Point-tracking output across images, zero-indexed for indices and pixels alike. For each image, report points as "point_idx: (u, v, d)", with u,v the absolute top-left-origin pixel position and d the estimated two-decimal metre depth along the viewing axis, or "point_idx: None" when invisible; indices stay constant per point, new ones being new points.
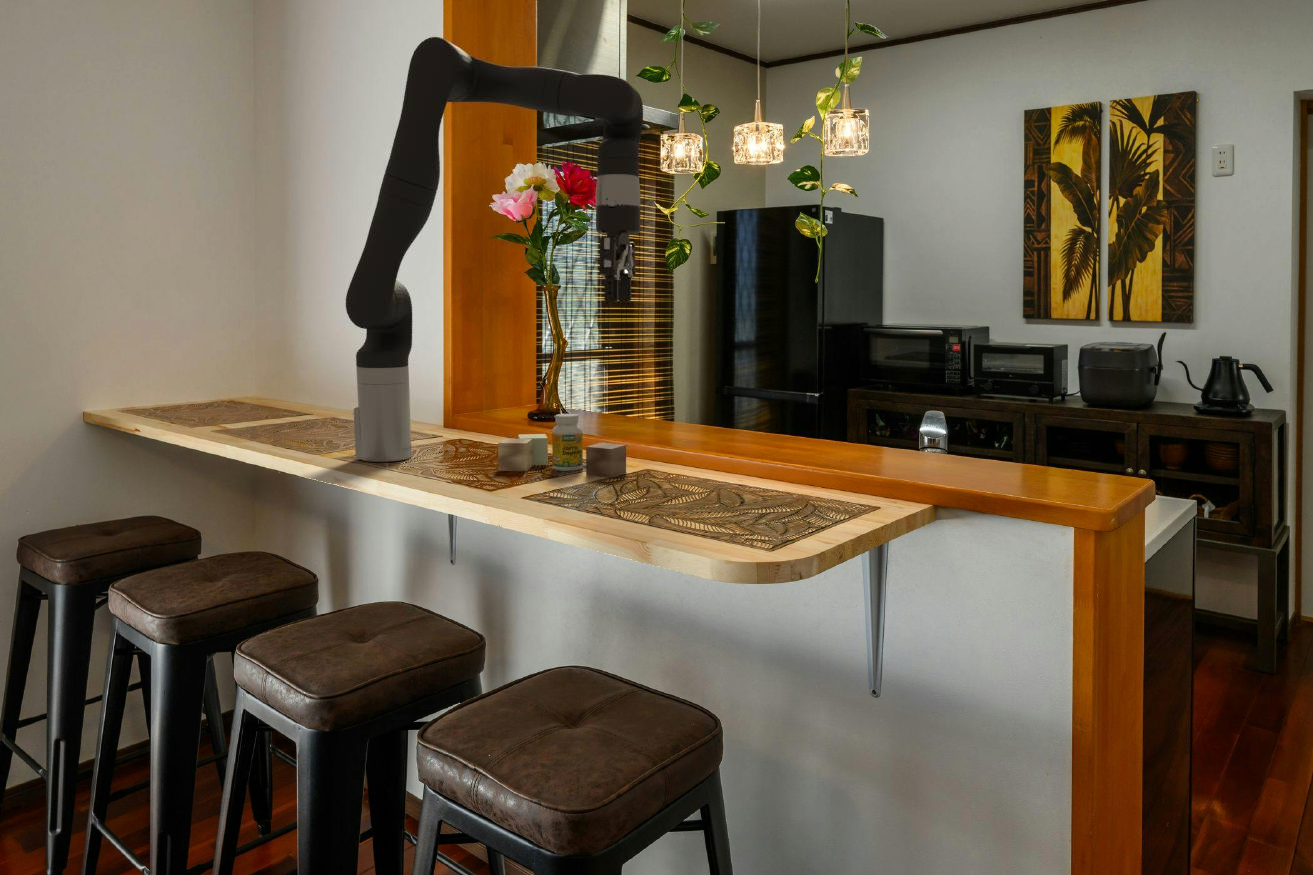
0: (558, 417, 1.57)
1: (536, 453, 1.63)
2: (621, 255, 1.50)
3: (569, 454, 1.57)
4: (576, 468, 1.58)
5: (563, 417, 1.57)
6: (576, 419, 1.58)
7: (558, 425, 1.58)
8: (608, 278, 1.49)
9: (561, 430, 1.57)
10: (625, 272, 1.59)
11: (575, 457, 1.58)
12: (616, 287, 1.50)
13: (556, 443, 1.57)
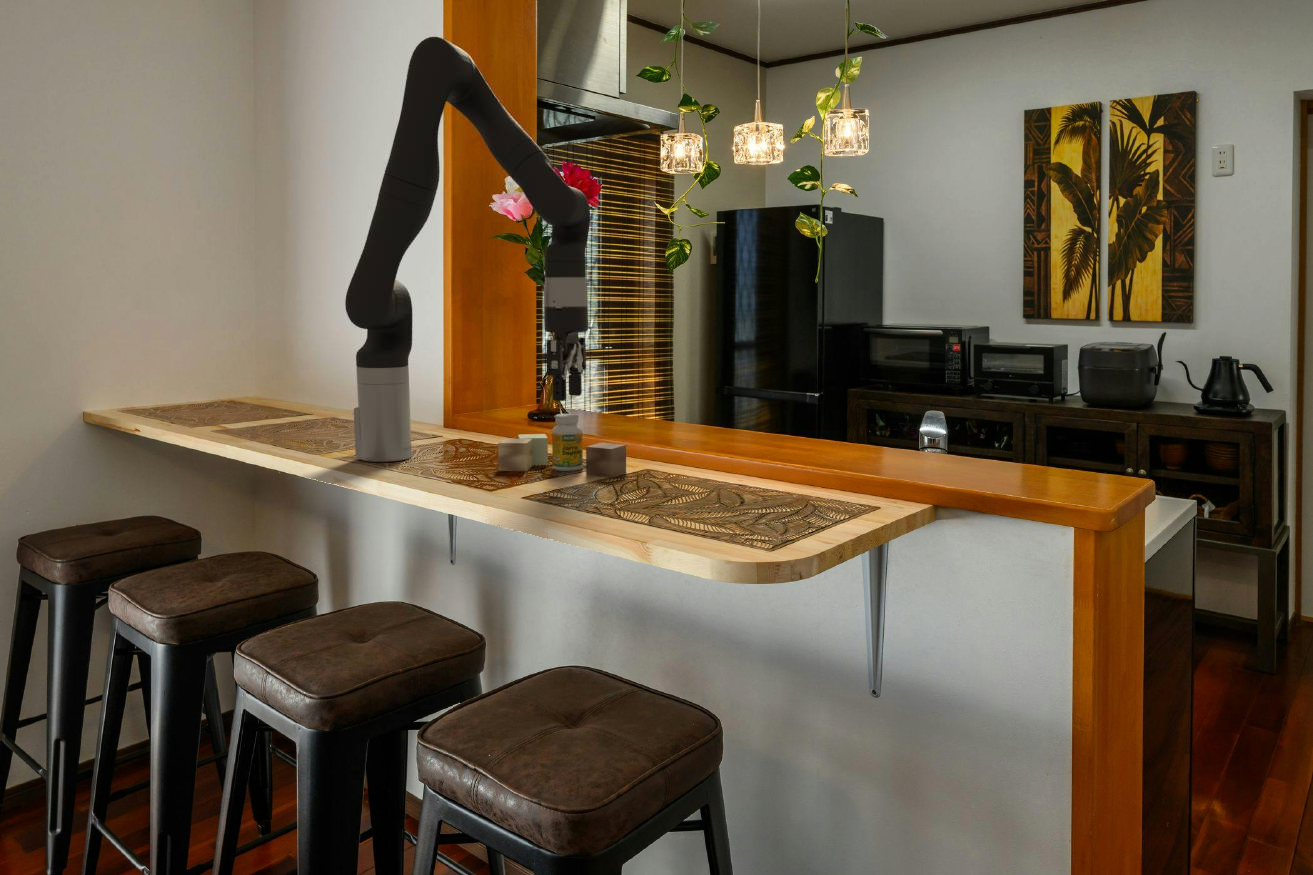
0: (558, 417, 1.57)
1: (536, 453, 1.63)
2: (569, 355, 1.54)
3: (569, 454, 1.57)
4: (576, 468, 1.58)
5: (563, 417, 1.57)
6: (576, 419, 1.58)
7: (558, 425, 1.58)
8: (556, 378, 1.52)
9: (561, 430, 1.57)
10: (575, 366, 1.62)
11: (575, 457, 1.58)
12: (564, 387, 1.53)
13: (556, 443, 1.57)
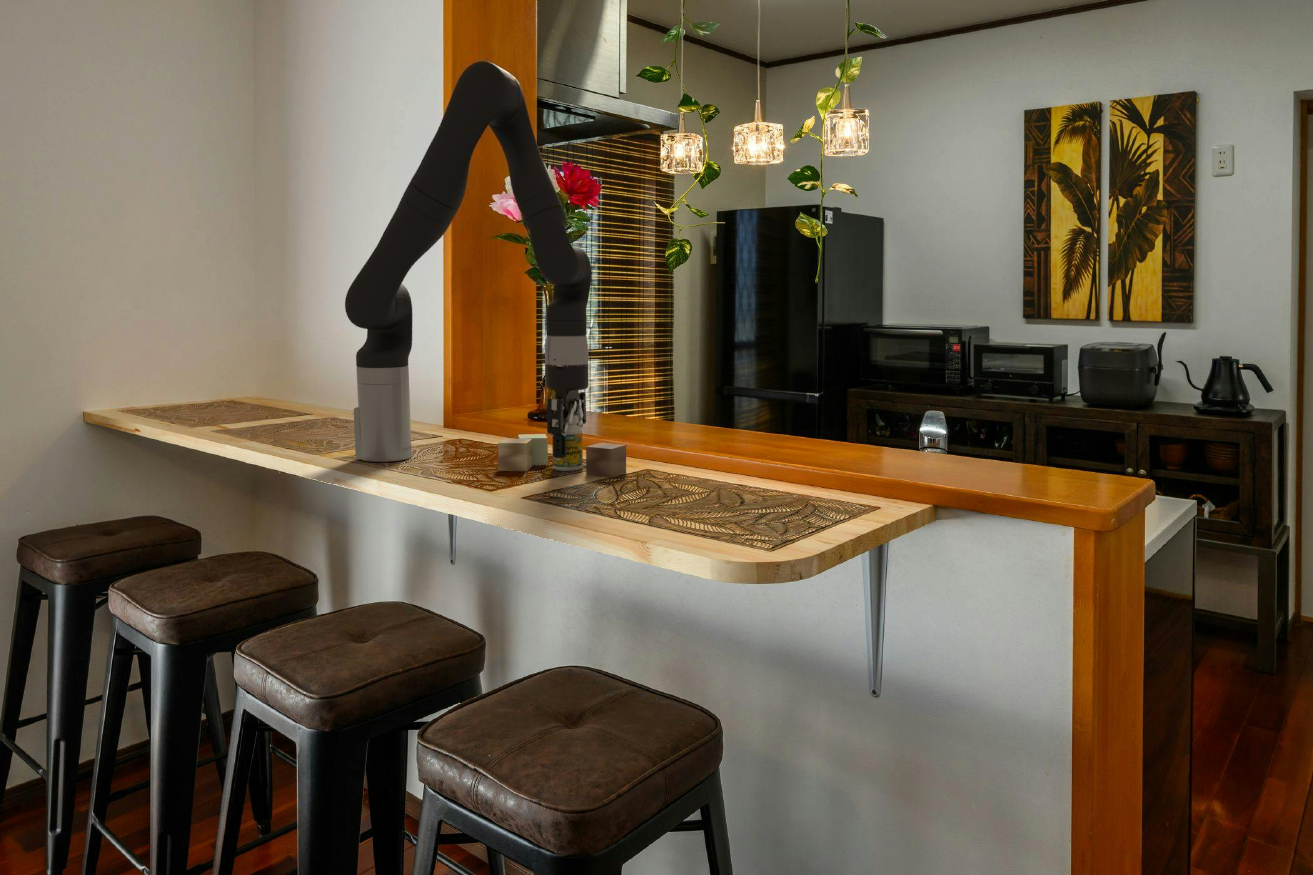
0: None
1: (536, 453, 1.63)
2: (569, 412, 1.55)
3: (569, 454, 1.57)
4: (576, 468, 1.58)
5: None
6: (576, 419, 1.58)
7: None
8: (556, 436, 1.54)
9: None
10: None
11: (575, 457, 1.58)
12: (564, 444, 1.55)
13: None
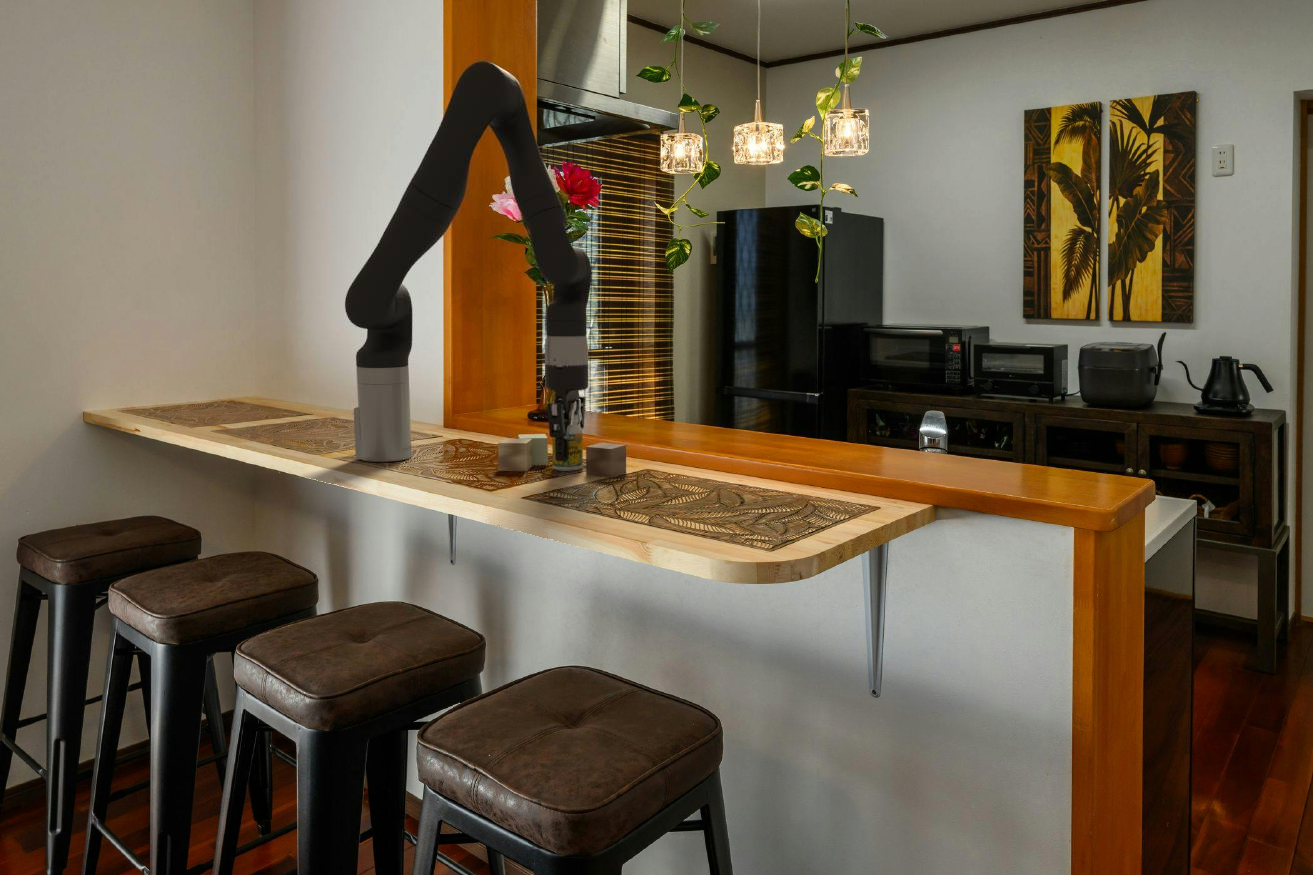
0: None
1: (536, 453, 1.63)
2: (569, 415, 1.56)
3: (569, 454, 1.57)
4: (576, 468, 1.58)
5: None
6: (576, 419, 1.58)
7: None
8: (558, 439, 1.55)
9: None
10: None
11: (575, 457, 1.58)
12: (566, 447, 1.56)
13: None
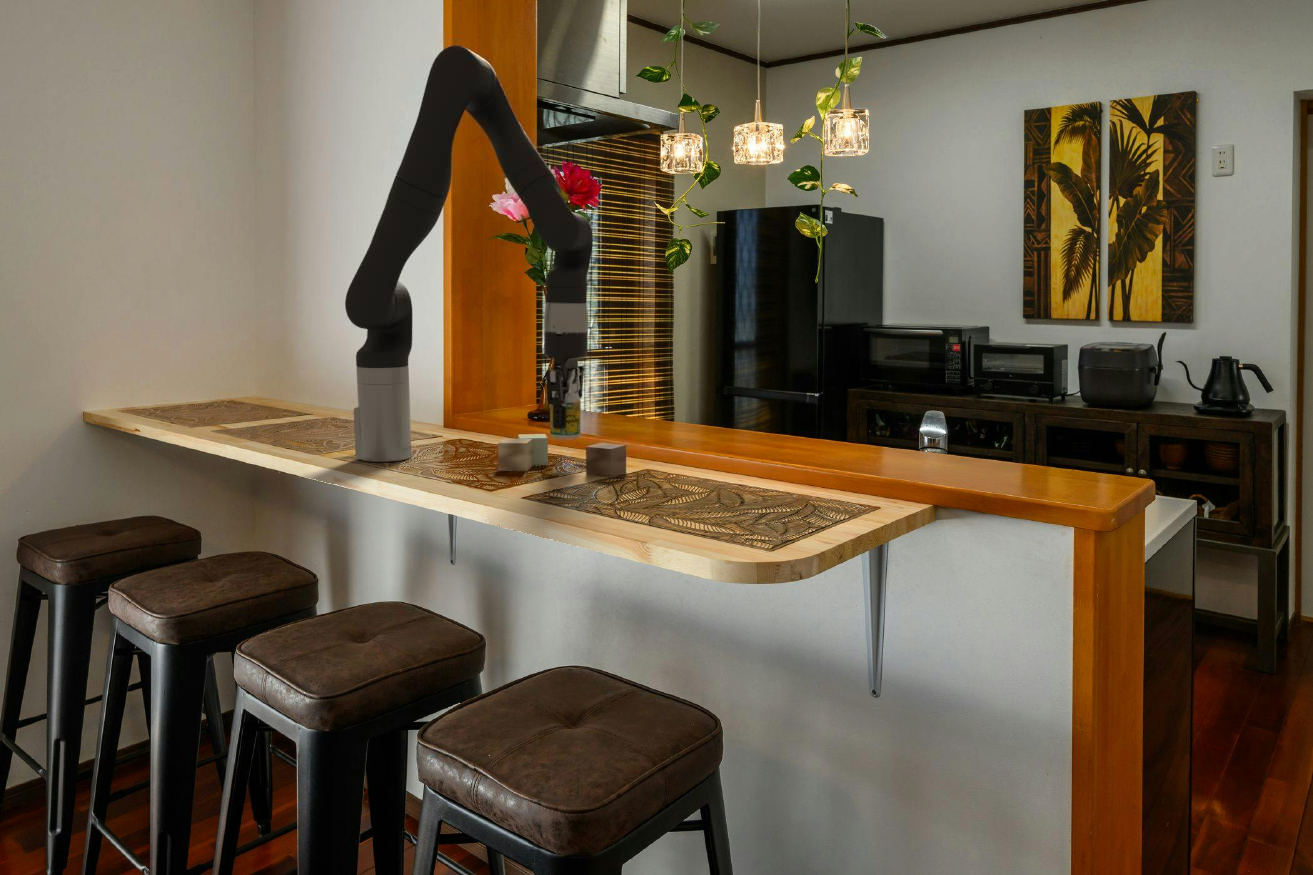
0: None
1: (536, 453, 1.63)
2: (568, 382, 1.55)
3: (567, 422, 1.56)
4: (573, 436, 1.57)
5: None
6: (574, 387, 1.57)
7: None
8: (556, 407, 1.54)
9: None
10: None
11: (572, 426, 1.57)
12: (564, 415, 1.55)
13: None
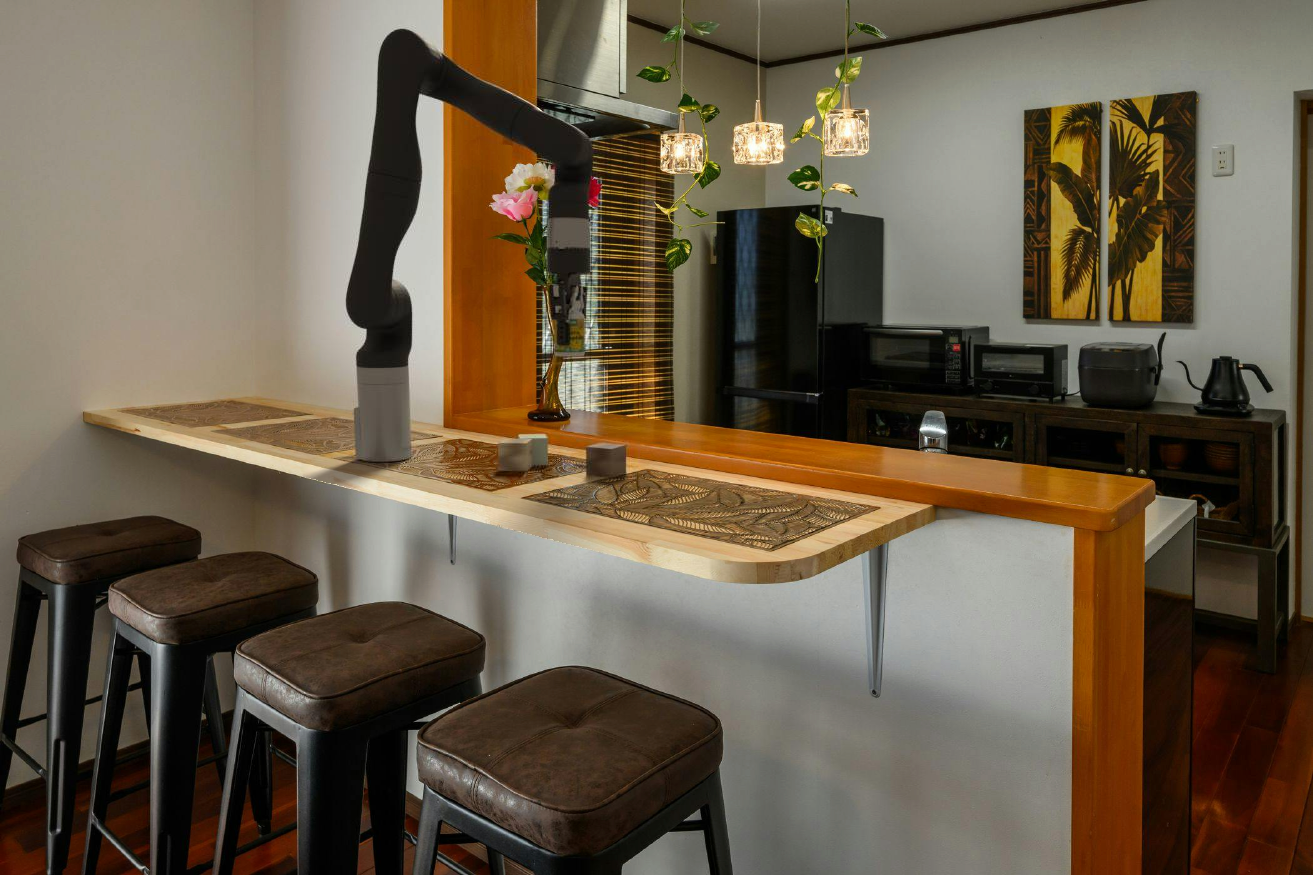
0: None
1: (536, 453, 1.63)
2: (571, 298, 1.54)
3: (571, 339, 1.56)
4: (578, 354, 1.57)
5: None
6: (578, 304, 1.57)
7: None
8: (560, 323, 1.54)
9: None
10: None
11: (577, 343, 1.56)
12: (568, 331, 1.55)
13: None
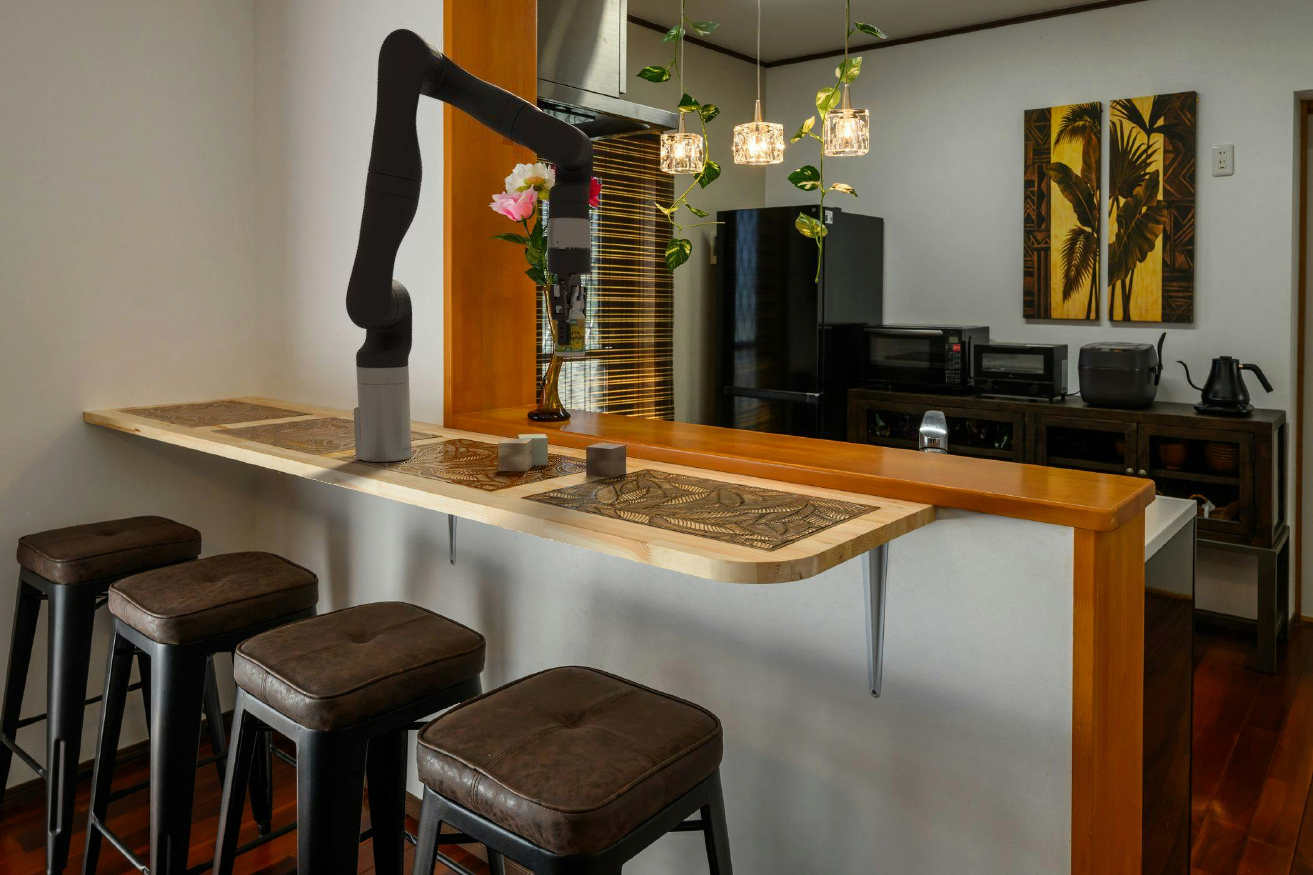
0: None
1: (536, 453, 1.63)
2: (572, 298, 1.55)
3: (572, 339, 1.56)
4: (578, 354, 1.57)
5: None
6: (579, 304, 1.57)
7: None
8: (560, 323, 1.54)
9: None
10: None
11: (577, 343, 1.57)
12: (568, 331, 1.55)
13: None
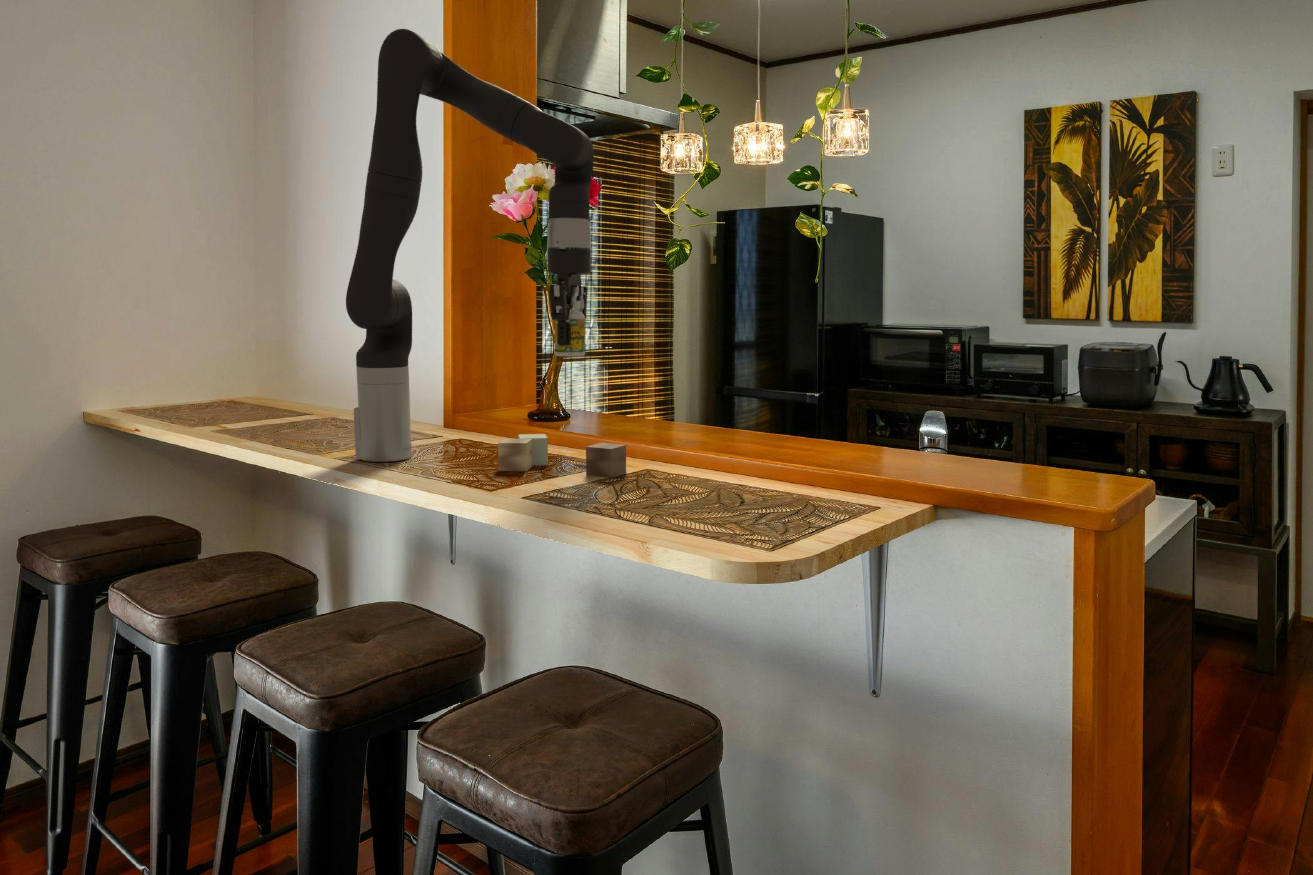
0: None
1: (536, 453, 1.63)
2: (572, 298, 1.55)
3: (572, 339, 1.56)
4: (578, 354, 1.57)
5: None
6: (579, 304, 1.57)
7: None
8: (560, 323, 1.54)
9: None
10: None
11: (577, 343, 1.57)
12: (568, 331, 1.55)
13: None
